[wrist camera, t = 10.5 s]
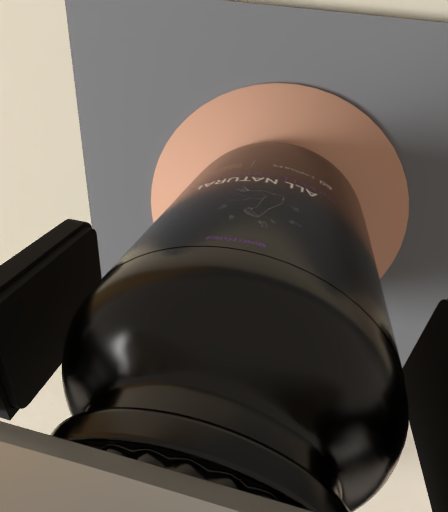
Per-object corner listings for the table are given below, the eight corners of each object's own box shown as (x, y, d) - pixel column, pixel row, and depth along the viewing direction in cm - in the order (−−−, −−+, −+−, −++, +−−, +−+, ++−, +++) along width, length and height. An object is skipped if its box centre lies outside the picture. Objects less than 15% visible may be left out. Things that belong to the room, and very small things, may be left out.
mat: (597, 40, 10) (619, 39, 9) (408, 372, 17) (411, 385, 16) (73, -14, 12) (59, -18, 11) (107, 303, 19) (100, 312, 19)
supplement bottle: (300, 93, 11) (197, 502, 1) (392, 253, 13) (636, 888, 3) (153, 199, 14) (-216, 555, 4) (246, 315, 16) (144, 735, 6)
